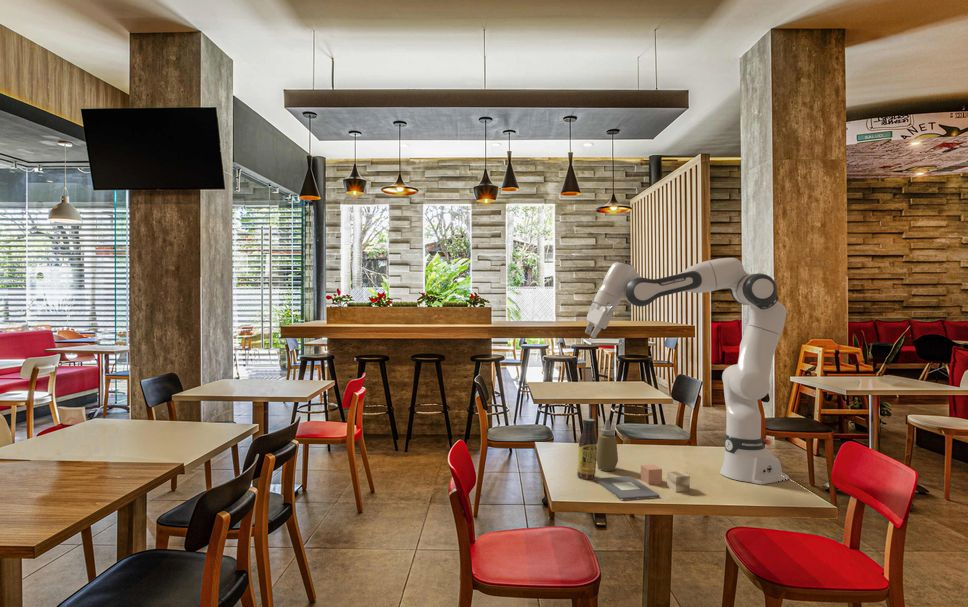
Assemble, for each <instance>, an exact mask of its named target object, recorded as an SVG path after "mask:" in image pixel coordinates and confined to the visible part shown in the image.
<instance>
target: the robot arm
mask: <svg viewBox="0 0 968 607" xmlns="http://www.w3.org/2000/svg"><path fill="white" fill-rule="evenodd" d="M722 289H724V290H725V289H727V290H728V292H729V294H730V295H731V297H732V299H733V300H734V301H735V302H736V303H738V304H740V305H744V306H749V308H750V318H749V321H748V322H747V325H746V328H745V330H744V333H743V335H742V339H741V341H740V344H739V354H738V360H737V363H736V364H732V365H730V366H728V367H726V368H725V369H724V370H723V371H722V375H721V380H722V383H723V385H722V386H723V394H724V402H725V409H726V410H725V411H726V417H725V418H726V422H725V423H726V428H725V429H726V431H725V433H724V454H723V455H724V456H723V460H722V461H723V462H722V465H721V469H720V471H719V472H720V474H721V475H722V476H724V477H726V478H728V479H731V480H735V481H740V482H747V483H753V484H756V485H766V484H767V485H768V484H772V483H778V481H779V482H784V481H789V480H790V476H789V475H788V474H786V473H785V472H783V471H782V464H781V462H780V459H778V458H777V456H775V455H774V454H772V453H771V452H770V451H769V450H767V448H766V446H770V445H772V441H771V439H768V438H762V414H761V412H760V408H759V403H758V400H762V399H763V398H765V397H766V396H767V395H768V394H769V391H770V389H771V388H770V387H771V386H770V385H771V384H770V377H771V370H772V364H773V359H774V355H775V351H776V349H777V347H778V344H779V341H780V339H781V336H782V335H783V334H782V333H783V330H784V328H785V323H786V318H787V308H786V306H785V305H784V304H783V303H782V302H781V301H780V302H779V295H778V287H777V283H776V281H775V280H774V278H772V277H771V276H769V275H768V274H765V273H750V274H749V273H748V272H746V271H745V268H744V265H743V263H742V262H741V261H740V260H739V259H738V258H736V257H723V258H716V259H715V258H714V259H711V260H710V259H709V260H706V261H705V260H704V261H701V262H698V263H696V264H693V265H691V266H688V267H687V268H686V269H684V270H683V271H682V272H679V273H676V274H674V275H673V274H672V275H669V276H665V277H660V278H647V277H641V274H639V273H638V272H637V270H636V268H635V266H634V265H633V264H631V263H629V262H628V263H627V262H625V261H616V262H614V263H612V265H611V266H610V267H609V269H608V270H607V272H606V274H605V276H604V278H603V281H602V285H601V286H600V287H599V289H598V291H597V293H596V294H595V295H594V296H593V298H592V300H591V302H592V303H591V304H590V307H589V310H588V312H587V315H586V319H585V320H586V321H587V322H588V323H587V325H586V329H585V331H584V333H585V334H587V335H589V336H590V337H591V338H592V339H596V338H597V336H598V334H599V333H600V332H601V330H602V329H603V330H605V329H607V327H608V326H609V324H610V321H611V320H612V317H613V314H614V312H615V311H616V310H617V308H618V306H619V304H620V303H621V300H622V299H624V300H625V301H627V303H629V304H630V305H632V306H635V307H646V306H648V305H650V304H651V303H653V302H654V301H656V300H657V299H659V298H661V297H665V296H669V295H673V294H679V293H683V292H689V293H693V294H697V293H698V294H700V293H701V294H702V293H710V292H715V291H718V290H722ZM593 327H594V328H593ZM781 475H782V476H781ZM783 476H784V477H783ZM786 478H787V479H786ZM784 479H786V480H784ZM788 479H789V480H788ZM782 480H783V481H782Z"/></svg>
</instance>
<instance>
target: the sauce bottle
mask: <svg viewBox="0 0 968 607" xmlns="http://www.w3.org/2000/svg"><path fill="white" fill-rule="evenodd" d="M582 423H583V428H582V433H581V434H580V436H579V439H578V450H577V451H578V452H577V467H576V468H577V469H576V471H577V473H576V474H577V477H578V478H580V479H585V480H592V479H594V478H596V477H595V476H596V467H597V462H596V452H597V443H598V442H597V438H596V435H595V425H596V420H595V419H594V418H582Z"/></svg>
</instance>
